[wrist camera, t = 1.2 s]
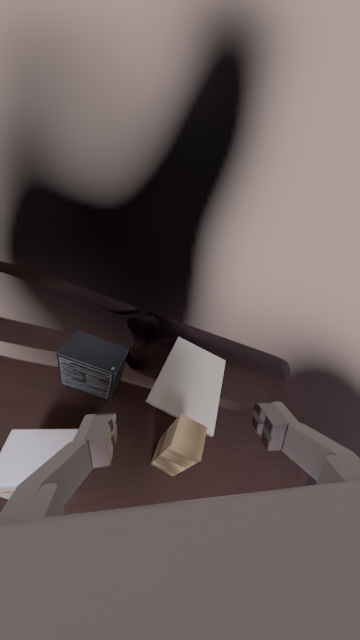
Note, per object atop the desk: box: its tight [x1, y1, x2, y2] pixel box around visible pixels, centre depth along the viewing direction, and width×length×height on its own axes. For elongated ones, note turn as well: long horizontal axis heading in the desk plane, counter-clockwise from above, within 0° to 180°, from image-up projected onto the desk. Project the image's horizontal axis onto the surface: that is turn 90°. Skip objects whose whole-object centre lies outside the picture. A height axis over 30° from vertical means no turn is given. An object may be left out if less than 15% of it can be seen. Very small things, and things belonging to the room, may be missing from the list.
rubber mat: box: [145, 337, 225, 437], centre depth 48 cm, size 16×22×1 cm
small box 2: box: [56, 331, 129, 401], centre depth 36 cm, size 11×6×10 cm, turn 82°
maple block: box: [151, 414, 207, 476], centre depth 31 cm, size 4×4×12 cm
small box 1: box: [0, 429, 78, 500], centre depth 25 cm, size 8×6×10 cm
